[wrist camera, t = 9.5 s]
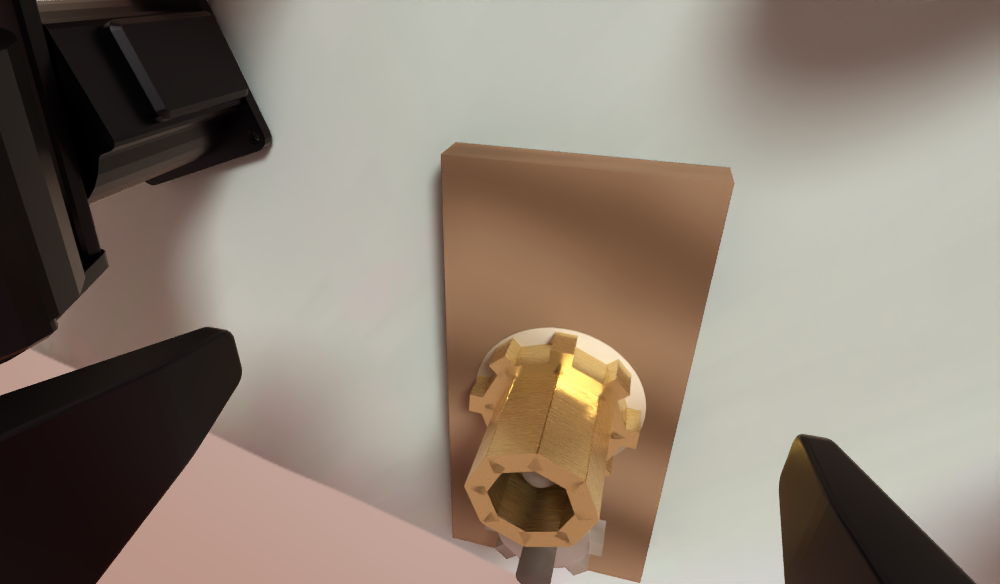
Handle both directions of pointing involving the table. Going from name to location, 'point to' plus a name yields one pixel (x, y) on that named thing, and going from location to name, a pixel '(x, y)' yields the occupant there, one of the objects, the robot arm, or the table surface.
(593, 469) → the brass gear
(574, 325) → the board
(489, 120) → the table surface
